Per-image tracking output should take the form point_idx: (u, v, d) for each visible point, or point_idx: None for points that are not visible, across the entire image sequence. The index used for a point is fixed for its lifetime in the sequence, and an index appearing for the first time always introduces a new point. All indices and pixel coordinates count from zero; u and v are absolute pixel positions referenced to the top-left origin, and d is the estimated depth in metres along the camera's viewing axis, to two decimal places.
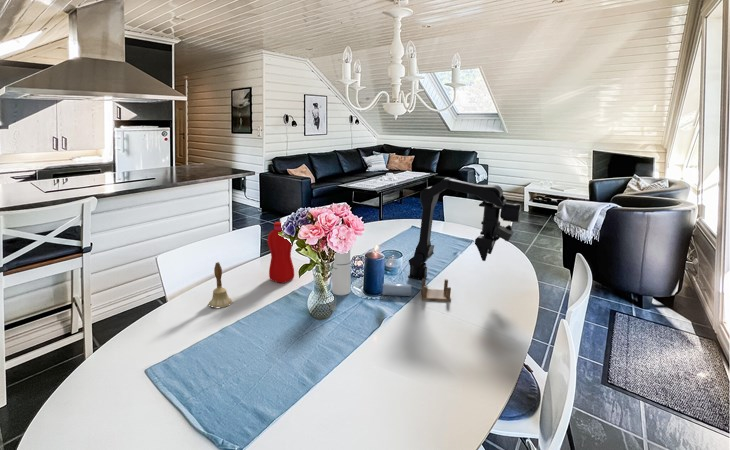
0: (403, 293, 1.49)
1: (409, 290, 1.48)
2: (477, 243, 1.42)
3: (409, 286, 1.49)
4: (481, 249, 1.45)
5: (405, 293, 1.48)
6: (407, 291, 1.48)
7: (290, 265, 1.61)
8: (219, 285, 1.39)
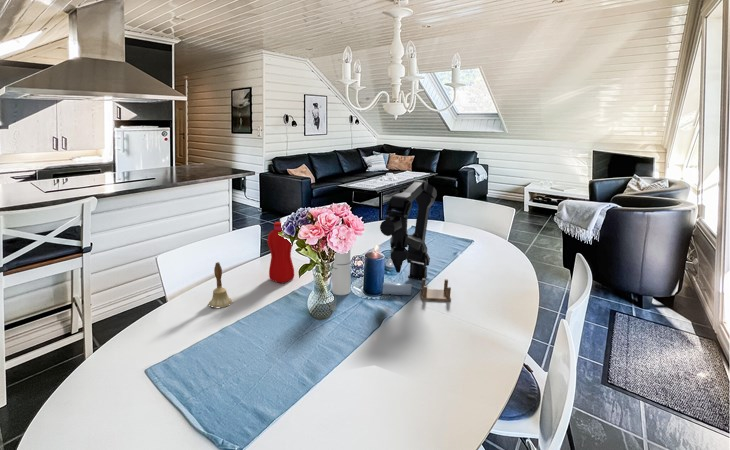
0: (403, 290, 1.49)
1: (409, 287, 1.49)
2: (393, 256, 1.37)
3: (409, 284, 1.50)
4: (395, 261, 1.41)
5: (405, 290, 1.49)
6: (407, 288, 1.49)
7: (290, 265, 1.61)
8: (219, 285, 1.39)
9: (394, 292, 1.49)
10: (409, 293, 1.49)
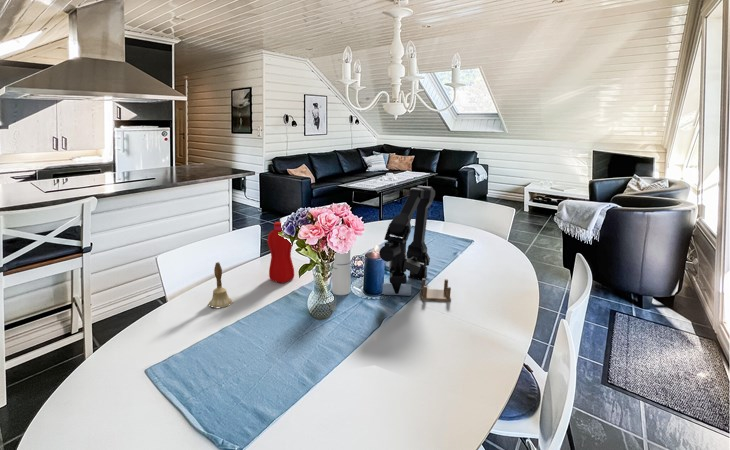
0: (403, 293, 1.48)
1: (409, 290, 1.48)
2: (392, 281, 1.40)
3: (409, 286, 1.49)
4: (394, 283, 1.46)
5: (405, 293, 1.48)
6: (407, 290, 1.48)
7: (290, 265, 1.61)
8: (219, 285, 1.39)
9: (394, 294, 1.49)
10: (409, 295, 1.49)
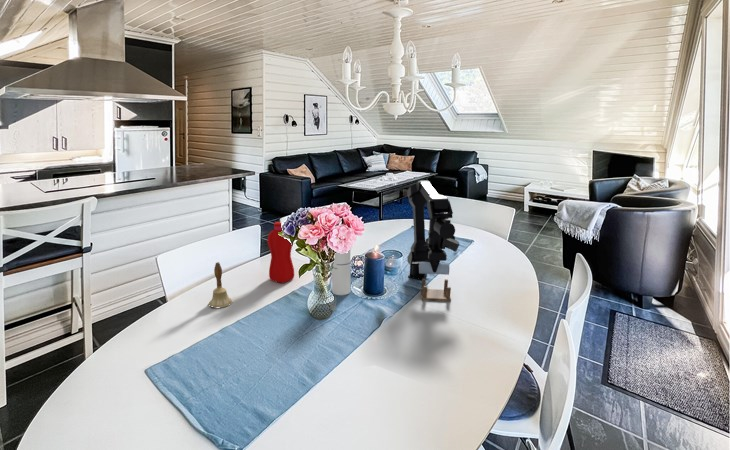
0: (441, 271, 1.45)
1: (447, 268, 1.45)
2: (432, 258, 1.36)
3: (447, 264, 1.45)
4: (433, 261, 1.42)
5: (443, 271, 1.45)
6: (445, 269, 1.45)
7: (290, 265, 1.61)
8: (219, 285, 1.39)
9: (431, 272, 1.46)
10: (447, 273, 1.45)
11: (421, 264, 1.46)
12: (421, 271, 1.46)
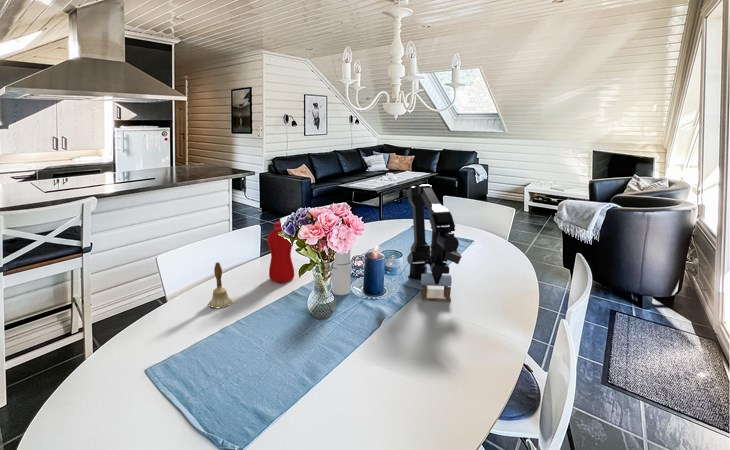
0: (443, 283, 1.47)
1: (449, 280, 1.46)
2: (435, 271, 1.38)
3: (449, 276, 1.47)
4: (435, 273, 1.44)
5: (445, 283, 1.46)
6: (447, 281, 1.46)
7: (290, 265, 1.61)
8: (219, 285, 1.39)
9: (434, 284, 1.47)
10: (449, 285, 1.47)
11: (423, 276, 1.47)
12: (423, 283, 1.47)
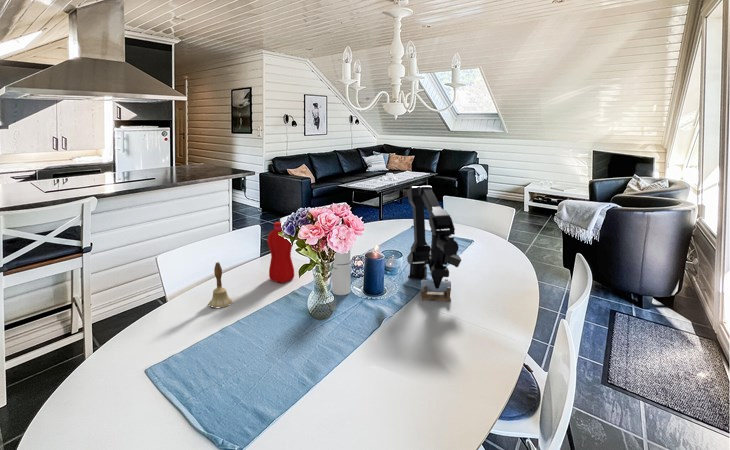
0: (443, 290, 1.47)
1: None
2: (435, 275, 1.38)
3: (449, 282, 1.48)
4: (435, 278, 1.43)
5: (444, 289, 1.47)
6: None
7: (290, 265, 1.61)
8: (219, 285, 1.39)
9: (433, 291, 1.48)
10: None
11: (423, 283, 1.48)
12: (423, 289, 1.48)
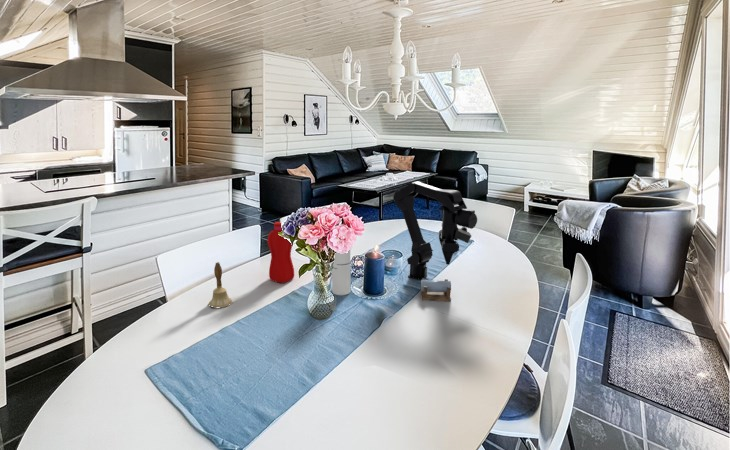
0: (443, 290, 1.47)
1: None
2: (445, 248, 1.44)
3: (449, 283, 1.47)
4: (446, 253, 1.48)
5: (445, 290, 1.47)
6: None
7: (290, 265, 1.61)
8: (219, 285, 1.39)
9: (433, 291, 1.48)
10: None
11: (423, 283, 1.48)
12: (423, 290, 1.48)
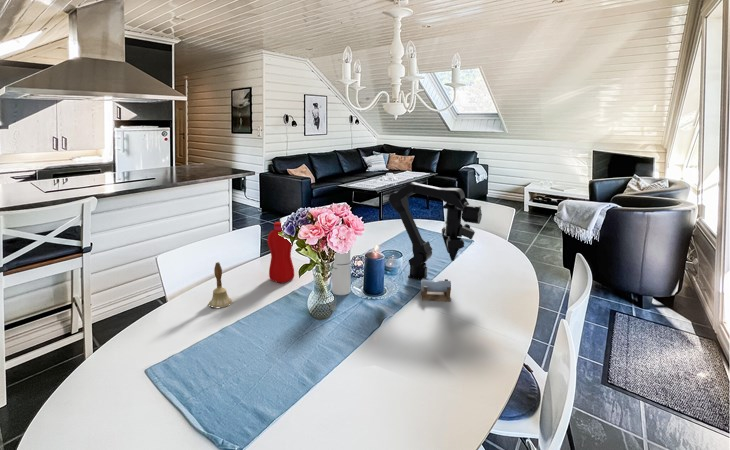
0: (443, 289, 1.47)
1: (449, 286, 1.47)
2: (451, 245, 1.47)
3: (448, 282, 1.48)
4: (451, 250, 1.52)
5: (444, 289, 1.47)
6: None
7: (290, 265, 1.61)
8: (219, 285, 1.39)
9: (433, 290, 1.48)
10: None
11: (423, 282, 1.48)
12: (423, 289, 1.48)
